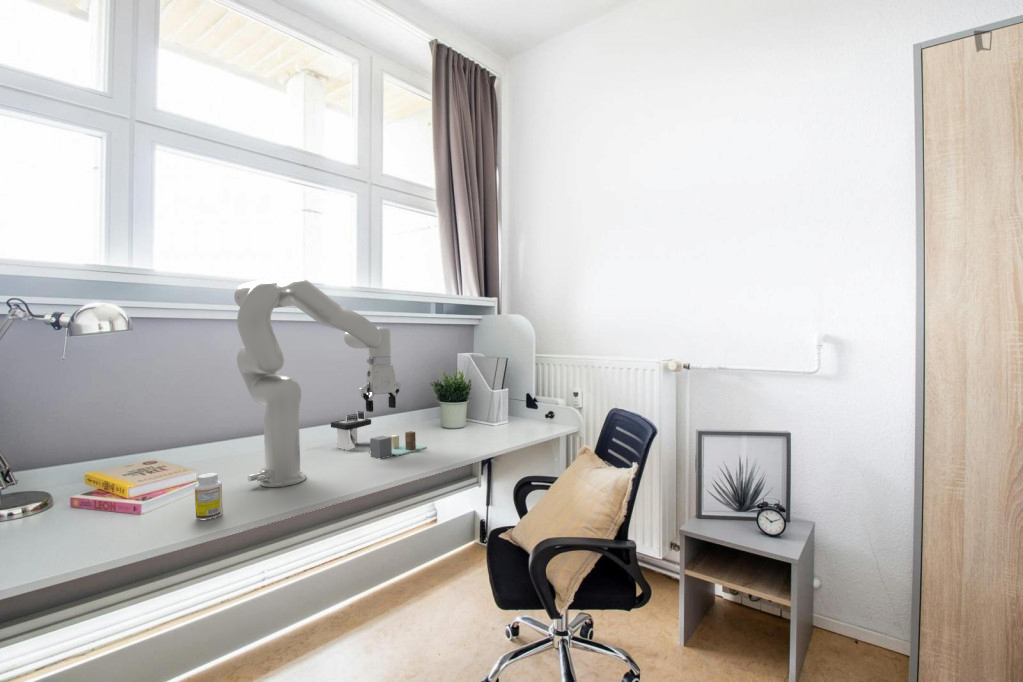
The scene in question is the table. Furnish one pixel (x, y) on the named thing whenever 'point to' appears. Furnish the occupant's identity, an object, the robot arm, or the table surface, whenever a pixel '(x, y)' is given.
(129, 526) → the table surface
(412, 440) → the walnut post
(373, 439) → the grey block
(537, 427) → the table surface
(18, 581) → the table surface
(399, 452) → the board
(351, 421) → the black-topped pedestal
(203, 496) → the supplement bottle
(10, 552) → the table surface
